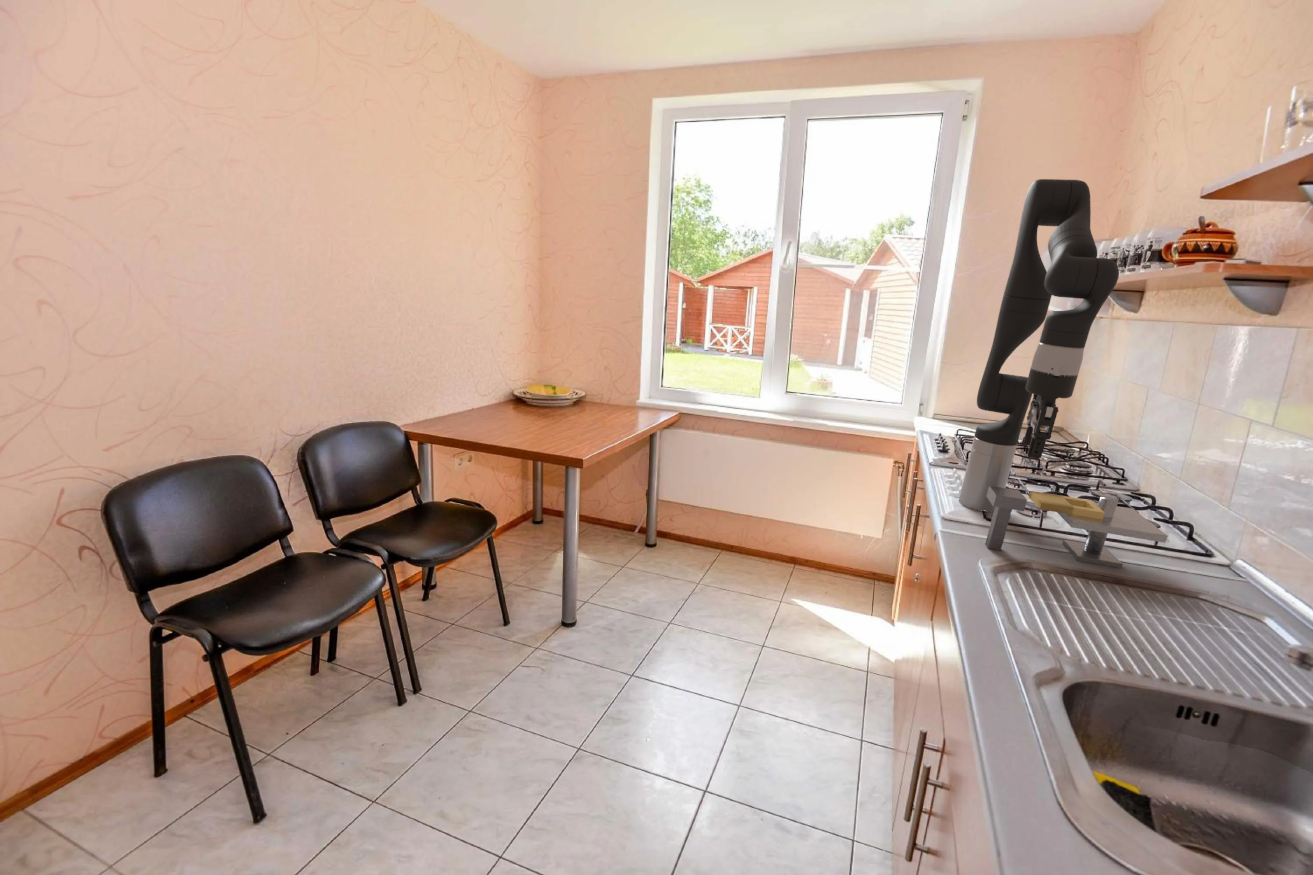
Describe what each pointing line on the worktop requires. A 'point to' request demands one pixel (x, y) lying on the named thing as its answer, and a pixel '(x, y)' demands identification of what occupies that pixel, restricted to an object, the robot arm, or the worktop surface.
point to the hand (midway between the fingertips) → (1031, 451)
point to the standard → (1108, 531)
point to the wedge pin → (1002, 513)
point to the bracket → (1066, 505)
